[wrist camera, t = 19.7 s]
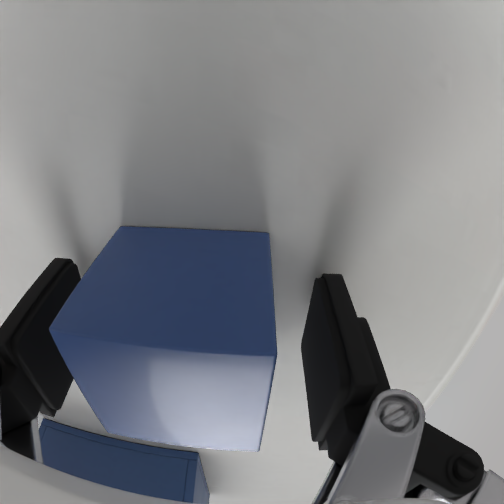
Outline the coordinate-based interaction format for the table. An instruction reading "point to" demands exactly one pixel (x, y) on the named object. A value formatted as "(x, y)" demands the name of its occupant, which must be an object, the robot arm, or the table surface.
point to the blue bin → (124, 464)
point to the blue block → (175, 336)
